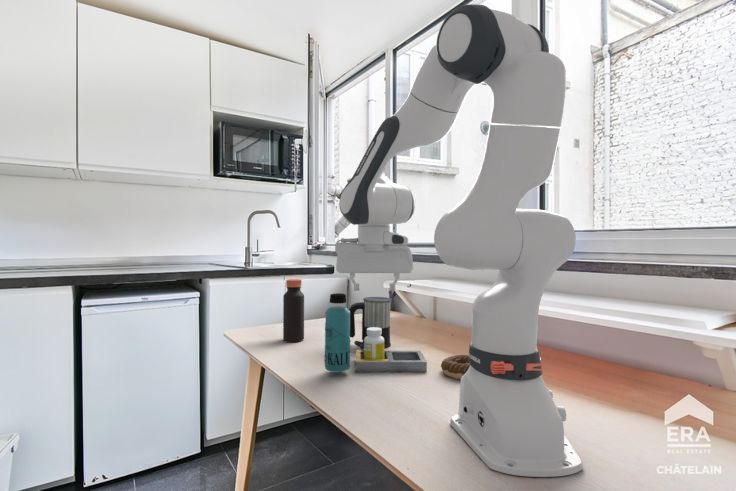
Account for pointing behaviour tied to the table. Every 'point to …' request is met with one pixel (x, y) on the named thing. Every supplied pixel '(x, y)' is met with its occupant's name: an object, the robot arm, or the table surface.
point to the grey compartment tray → (392, 362)
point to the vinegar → (293, 312)
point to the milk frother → (372, 318)
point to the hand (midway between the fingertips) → (374, 290)
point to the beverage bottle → (337, 335)
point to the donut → (455, 366)
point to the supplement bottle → (374, 344)
